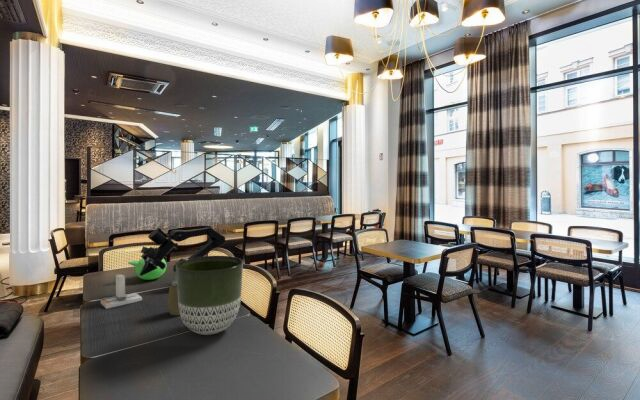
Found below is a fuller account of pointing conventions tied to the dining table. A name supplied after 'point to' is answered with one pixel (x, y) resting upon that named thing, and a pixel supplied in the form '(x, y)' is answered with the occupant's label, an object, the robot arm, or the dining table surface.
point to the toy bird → (149, 275)
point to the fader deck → (115, 302)
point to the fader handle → (120, 287)
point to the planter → (209, 292)
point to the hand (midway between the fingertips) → (140, 275)
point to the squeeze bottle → (173, 299)
